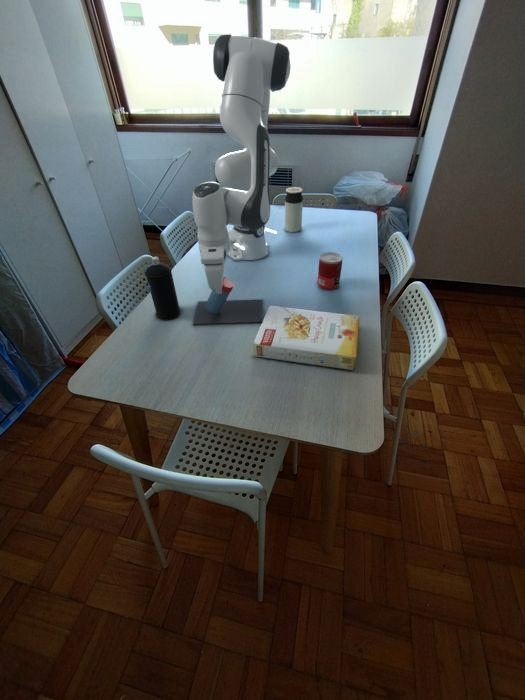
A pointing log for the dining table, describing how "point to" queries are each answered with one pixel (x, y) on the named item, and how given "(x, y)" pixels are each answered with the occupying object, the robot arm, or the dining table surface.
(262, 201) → the robot arm
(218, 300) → the container
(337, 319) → the cereal box
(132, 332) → the dining table surface
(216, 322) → the mat
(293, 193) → the travel mug
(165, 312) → the aerosol can
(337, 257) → the canned food
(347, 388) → the dining table surface
